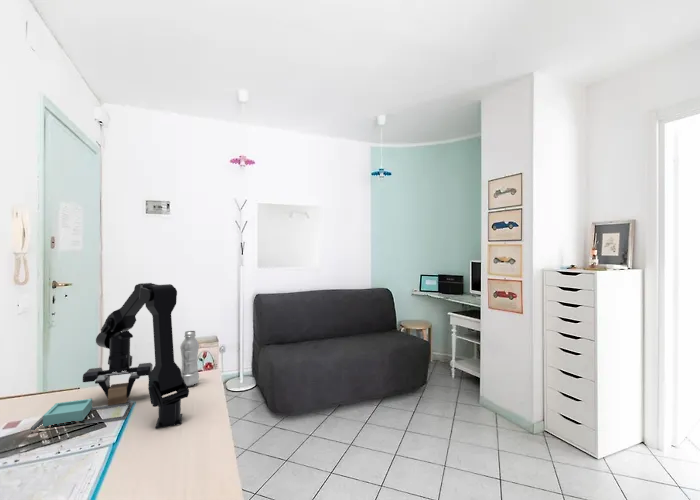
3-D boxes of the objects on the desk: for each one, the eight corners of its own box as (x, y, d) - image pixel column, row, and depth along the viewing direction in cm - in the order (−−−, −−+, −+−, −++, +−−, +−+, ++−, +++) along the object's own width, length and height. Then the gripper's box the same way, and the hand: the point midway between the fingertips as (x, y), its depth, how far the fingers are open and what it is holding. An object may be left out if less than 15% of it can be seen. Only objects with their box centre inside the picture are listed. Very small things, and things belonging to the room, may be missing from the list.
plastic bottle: (202, 382, 132) (203, 330, 132) (192, 389, 125) (193, 333, 125) (186, 381, 132) (187, 329, 133) (175, 388, 125) (176, 333, 126)
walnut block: (125, 402, 113) (126, 387, 113) (107, 405, 111) (108, 389, 111) (129, 397, 117) (129, 382, 117) (111, 399, 115) (112, 384, 115)
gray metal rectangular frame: (125, 419, 101) (125, 413, 101) (30, 433, 93) (30, 427, 93) (133, 403, 112) (133, 398, 112) (49, 415, 104) (49, 409, 104)
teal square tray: (82, 423, 98) (82, 410, 98) (42, 429, 95) (43, 415, 95) (92, 410, 107) (92, 398, 107) (55, 415, 103) (56, 403, 103)
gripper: (155, 342, 125) (154, 385, 125) (93, 347, 118) (92, 393, 118) (150, 350, 115) (149, 397, 115) (82, 356, 108) (81, 406, 107)
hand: (118, 398), depth 114 cm, fingers closed on walnut block, 5 cm apart
